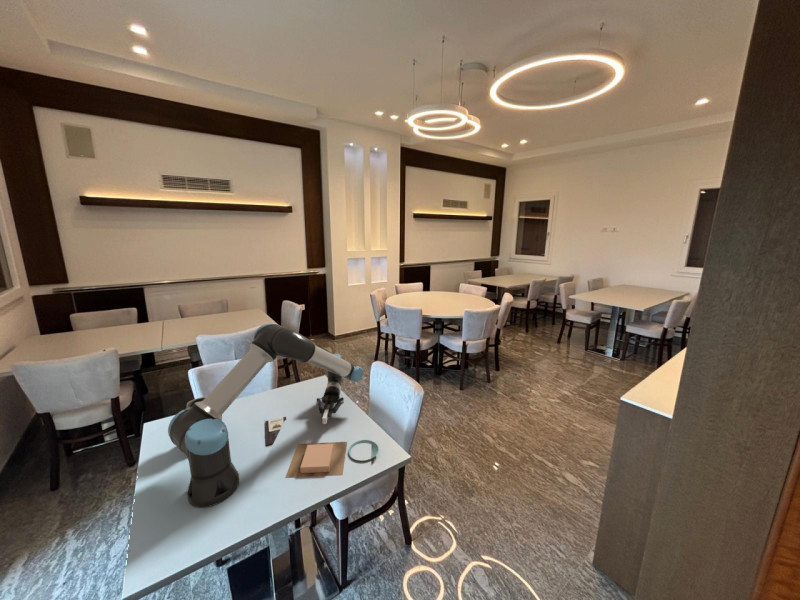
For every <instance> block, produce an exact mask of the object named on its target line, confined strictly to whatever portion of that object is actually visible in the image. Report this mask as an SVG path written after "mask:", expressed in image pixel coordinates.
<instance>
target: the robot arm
mask: <svg viewBox="0 0 800 600" xmlns="http://www.w3.org/2000/svg"><path fill="white" fill-rule="evenodd" d="M249 348H250V349H249V351H247V353H245V355H244V356H243V357H242V358H241V359H240V360H239V361H238V362H237V363H236V365H234V366H233V368H232V369H231V370H230V371H229V372H228V373H227V374H226V375H225V376H224V378H222V379H221V380H220V382H219V383H218V384H217V385H216V386H215V387H214V388H213V390H211V391H210V392H209V393H208V394H207V395H206V396H205V397H206V398H205V399H204V400H203V401H201V402H196V403H194V404H193V406H192V407H191V408H189V409H186V408H185V409H186V410H185V409H182V410H180V411H178V413H176V414H175V415H174V416H173V417H172V418H171V420H170V422H169V425H168V429H167V435H168V436H169V439H170V441H171V442H172V443H173V445H175V446H176V447H177V448H178V449H179V451H180V452H181V453H183V455H185V457H186V458H187V460H188V465H189V471H190V479H189V483H188V488H187V500H188V503H189V504H190V506H192V507H194V508H208V507H212V506H215V505H218V504H219V503H222V502H223V501H225V500H227V499H228V498H229V497H230V496H232V495H233V494H234V492H235V491H237V489H238V487H239V485H240V482H241V481H240V474H239V471H238V470H237V469H236V467H235V465H234V464H233V462H232V458H231V457H232V456H231V450H230V448H231V447H230V440H229V431H228V428H227V425H226V424H225V422H224V421H223V414H224V413H225V412H226V411H227V410H228V408H229V407H230V406H231V405H232V404H233V402H235V401H236V399H237V398H238V397H239V396H240V394H241V393H242V392H243V391H244V390H245V389H246V388H247V387H248V386H249V384H251V382H252V381H253V379H254V378H255V377H256V376H257V375H258V374H259V373H260V372H261V371H262V369H263V368H264V367H265V366H266V364H268V363H272V362H274V361H275V360H277V358H278V356H279V357H281V358H285V359H288V360H289V359H290V360H293V361H297V362H299V363H301V364H305V363H308V364H311V365H313V366H315V367H318V368H320V369H322V370H325V371H327V384H326V387H325V390H324V392H323V396H322V397H321V398H319V397H318V398H316V405H317V406H318V414H319V415H321V420H322V421H321V422H322V424H323V425H326V424H328V423H327V422H328V419H330V418H331V416H332V414H334V415H335V414H336V413H337V412H338V411H339V409H340V408H341V406H342V405H343V404H344V402H345V401H344V397H340V396H341V392H342V387H343V384H344V379H346V380H349V381H351V382H354V383H359V382H360V381H362V379H363V377H364V369H363V367H360V366H358V365H355V364H353V363H352V362H349V361H347V360H345V359H343V358H342V354H340V353H332V352H329V351H327V350H325V349H323V348H321V347H319V346H318V345H316V343H315V342H314V341H312V340H311V339H308V338H307V337H306V336H304V335H302V334H301V333H299V332H298V331H296V330H294V329H291V328H289V327H285V326H283V325H282V326H281V325H279V324H277V323H266V324H265V323H264V324H262V325H261V326H259V327H258V328H257V329H256V330H255V332H254V333H253V340H252V341H251V343H250V345H249ZM322 403H323V407H322Z"/></svg>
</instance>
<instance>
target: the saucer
mask: <svg viewBox="0 0 800 600" xmlns="http://www.w3.org/2000/svg"><path fill="white" fill-rule="evenodd" d="M360 444H369V445H371V453H370V458H368V459H365V460H364V459H363V460H359V459H356V458H354V457H353V456H352V453H351V451H352V449H353V448H354V447H355V446H358V445H360ZM347 451H348V455H349V457H350V459H353V460H354V461H357V462H367V461H370V460H371V459H373V458H375V457H376V455H378V453H379V451H380V450H379V445H378V444H377V443H376V442H374V441H372V440H369V439H362V440H358V441H356V442H354V443H352V444H351V445H350V446H349V448H348V450H347Z"/></svg>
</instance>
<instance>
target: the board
mask: <svg viewBox="0 0 800 600" xmlns="http://www.w3.org/2000/svg"><path fill="white" fill-rule="evenodd" d="M318 444H333V447H334V450H333V455H332V460H331V464H330V469H329V472H316V473H301V471H300V467H301V464H302V461H303V458H304V455H305V452H306V448H307V445H318ZM296 445H297V446H296V448H295V450H294V453H293V456H292V458H291V461H290V463H289V466H288V469H287V472H286V475H285V479H289V478H291V479H292V478H309V477H329V476H330V477H331V476H333V477H334V476H343V474H344V466H345V461H346V453H347V446H348V441H334V442H333V441H331V442H309V443H307V442H306V443H297V444H296Z"/></svg>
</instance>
